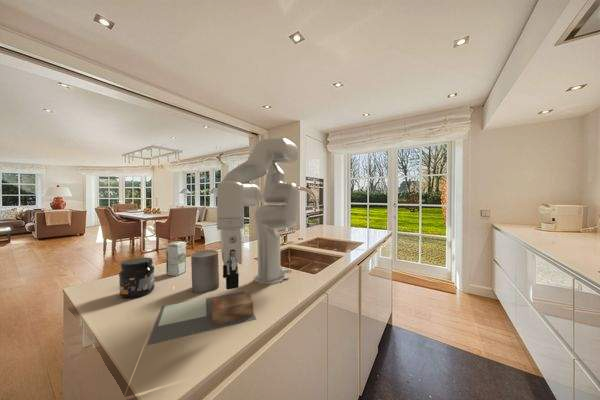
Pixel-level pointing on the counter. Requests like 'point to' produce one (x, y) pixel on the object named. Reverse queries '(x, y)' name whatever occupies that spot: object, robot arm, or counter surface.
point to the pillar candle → (205, 271)
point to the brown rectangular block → (231, 308)
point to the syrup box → (175, 258)
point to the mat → (189, 319)
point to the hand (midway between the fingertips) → (230, 282)
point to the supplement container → (136, 277)
